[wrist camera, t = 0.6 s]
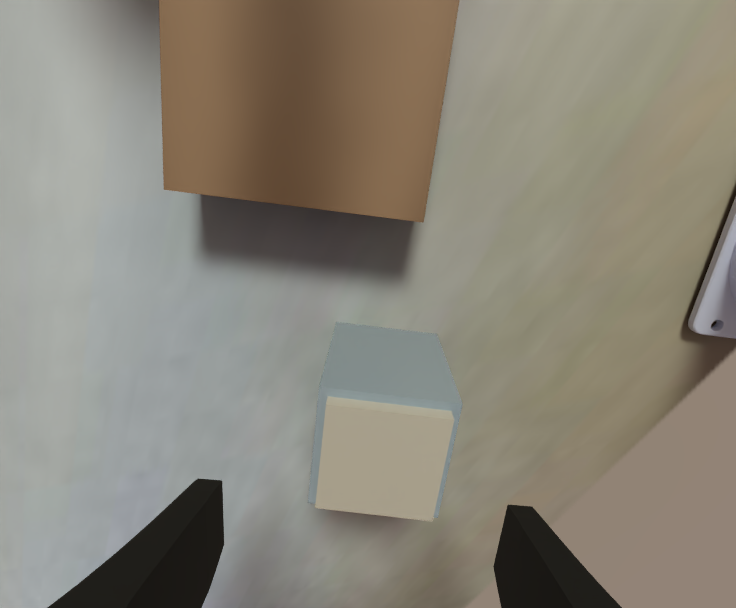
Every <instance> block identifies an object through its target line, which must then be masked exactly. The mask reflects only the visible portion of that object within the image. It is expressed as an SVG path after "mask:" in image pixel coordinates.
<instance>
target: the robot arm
mask: <svg viewBox="0 0 736 608" xmlns="http://www.w3.org/2000/svg"><path fill="white" fill-rule="evenodd" d="M715 320H716V324H715V325H714V326H713V327H711V324H712V323H713V322H714V321H715ZM688 326H689V328H690V329H691V330H692V331H694V332H696V333H698V334H702V335H710V336H718V337H726V338H734V339H736V197H735V200H734V202H733V205H732V207H731V210H730V213H729V215H728V218H727V221H726V223H725V226H724V228H723V231H722V234H721V236H720V239H719V242H718V244H717V247H716V249H715V252H714V255H713V257H712V260H711V263H710V265H709V268H708V270H707V273H706V276H705V278H704V281H703V284H702V286H701V289H700V292H699V294H698V297H697V299H696V302H695V305H694V307H693V310H692V313H691V315H690V318H689V321H688ZM223 546H224V526H223V493H222V481H220V480H208V479H197V480H196V481H194V482H193V483H192V484H191V485H190V486H189V487H188V488H187V489H186V490H185V491H184V492H183V493H181V494H180V495H179V496H178V497H177V498H176V499H175V500H174V501H173V502H172V503H171V504H170V505H169V506H168V507H167V508H166V509H164V510H163V511H162V512H161V513H160V514H159V515H158V516H157V517H156V518H155V519H154V520H153V521H152V522H150V523H149V524H148V525H147V526H146V527H145V528H144V529H143V530H141V531H140V532H139V533H138V534H137V535H136V536H135V537H134V538H132V539H131V540H130V541H129V542H128V543H127V544H126V545H125V546H123V547H122V548H121V549H120V550H119V551H118V552H117V553H115V554H114V555H113V556H112V557H111V558H109V559H108V560H107V561H106V562H104V563H103V564H102V565H101V566H100V567H98V568H97V569H96V570H95V571H94V572H92V573H91V574H90V575H89V576H87V577H86V578H85V579H84V580H83V581H81V582H80V583H79V584H78V585H76V586H75V587H74V588H73V589H71V590H70V591H69V592H67V593H66V594H65V595H64V596H62V597H61V598H60V599H58V600H57V601H56V602H54V603H53V604H52V605H50V606H49V607H48V608H201V607H202V605H203V603H204V600H205V598H206V596H207V593H208V591H209V589H210V586H211V583H212V580H213V577H214V574H215V571H216V568H217V565H218V562H219V558H220V555H221V552H222V549H223ZM494 572H495V577H496V582H497V587H498V593H499V598H500V603H501V607H502V608H622V607H620V605H619V604H618V603H617V602H616V601H615V600H614V599H613V598H612V597H611V596H610V595H609V594H608V593H607V592H606V590H605V589H604V588H603V587H602V586H601V585H600V584H599V583H598V582H597V581H596V580H595V579H594V577H593V576H592V575H591V574H590V573H589V572H588V571H587V570H586V568H585V567H584V566H583V565H582V564H581V563H580V562H579V561H578V559H577V558H576V557H575V556H574V555H573V554H572V553H571V551H570V550H569V549H568V548H567V547H566V546H565V545H564V543H563V542H562V541H561V540H560V539H559V537H558V536H557V535H556V534H555V533H554V532H553V530H552V529H551V528H550V527H549V526H548V525H547V523H546V522H545V521H544V520H543V519H542V518H541V516H540V515H539V514H538V513H537V512H536V511H535V510H534V508H533V507H529V506H518V505H508V506H507V510H506V515H505V519H504V523H503V528H502V532H501V536H500V541H499V545H498V550H497V554H496V558H495V563H494Z"/></svg>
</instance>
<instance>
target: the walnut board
mask: <svg viewBox="0 0 736 608" xmlns="http://www.w3.org/2000/svg"><path fill="white" fill-rule="evenodd" d="M458 6H459V0H159V21H160V59H161V98H162V136H163V175H164V190H172V191H179V192H187V193H195V194H203V195H211V196H219V197H227V198H235V199H242V200H250V201H258V202H266V203H274V204H282V205H290V206H298V207H306V208H313V209H321V210H329V211H337V212H345V213H353V214H361V215H369V216H376V217H384V218H392V219H400V220H408V221H416V222H424V216H425V210H426V204H427V197H428V191H429V185H430V179H431V173H432V167H433V160H434V154H435V148H436V142H437V136H438V129H439V123H440V117H441V111H442V105H443V98H444V92H445V86H446V80H447V74H448V67H449V61H450V55H451V49H452V43H453V37H454V30H455V24H456V18H457V12H458Z"/></svg>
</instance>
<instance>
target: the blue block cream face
mask: <svg viewBox="0 0 736 608" xmlns="http://www.w3.org/2000/svg"><path fill="white" fill-rule="evenodd" d="M461 409H462V401H461V398H460V396H459V393H458V390H457V387H456V385H455V382H454V379H453V377H452V374H451V371H450V368H449V366H448V363H447V360H446V358H445V355H444V352H443V349H442V347H441V344H440V341H439V338H438V336H437V334H431V333H423V332H415V331H406V330H398V329H390V328H382V327H374V326H366V325H357V324H349V323H341V322H336V326H335V330H334V333H333V337H332V341H331V345H330V348H329V352H328V356H327V360H326V363H325V367H324V371H323V374H322V378H321V382H320V386H319V394H318V404H317V414H316V425H315V435H314V445H313V455H312V466H311V476H310V486H309V496H308V503H313V504H315V508H319V509H328V510H337V511H345V512H354V513H363V514H372V515H380V516H389V517H398V518H407V519H415V520H424V521H433V517H435V518H438V514H439V509H440V505H441V500H442V496H443V491H444V487H445V482H446V477H447V473H448V468H449V464H450V459H451V455H452V450H453V445H454V441H455V436H456V432H457V427H458V423H459V418H460V413H461Z"/></svg>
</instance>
